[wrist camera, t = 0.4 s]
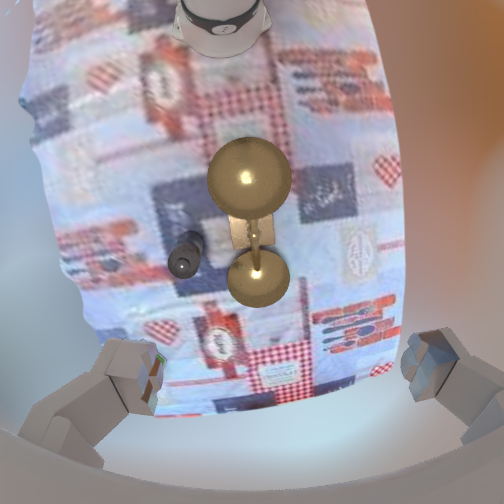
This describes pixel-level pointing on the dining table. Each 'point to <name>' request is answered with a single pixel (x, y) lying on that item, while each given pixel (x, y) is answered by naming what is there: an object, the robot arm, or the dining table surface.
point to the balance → (252, 215)
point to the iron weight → (186, 255)
